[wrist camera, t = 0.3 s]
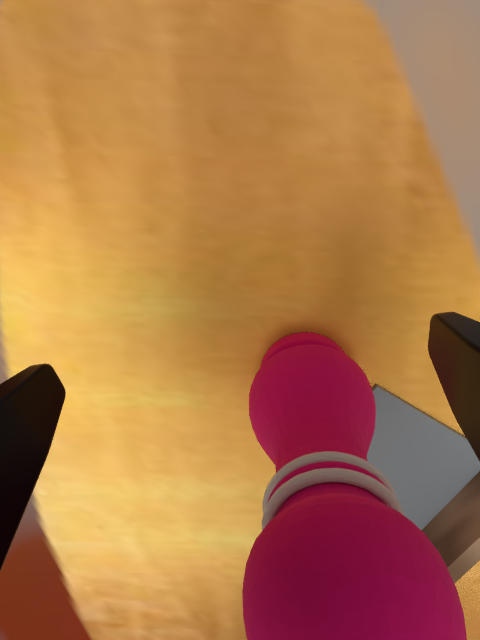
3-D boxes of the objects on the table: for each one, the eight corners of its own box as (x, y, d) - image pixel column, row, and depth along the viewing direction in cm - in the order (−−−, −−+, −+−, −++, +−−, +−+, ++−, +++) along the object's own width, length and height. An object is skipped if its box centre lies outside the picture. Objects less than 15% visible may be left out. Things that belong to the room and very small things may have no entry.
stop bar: (385, 586, 30) (400, 633, 26) (373, 579, 30) (385, 626, 26) (498, 474, 26) (531, 512, 23) (484, 465, 26) (515, 503, 23)
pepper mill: (342, 311, 24) (590, 670, 5) (368, 406, 26) (628, 940, 7) (239, 341, 26) (132, 720, 6) (270, 429, 27) (259, 938, 8)
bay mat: (377, 589, 30) (378, 594, 30) (263, 526, 30) (262, 530, 29) (505, 460, 26) (508, 464, 26) (375, 383, 26) (377, 386, 25)
